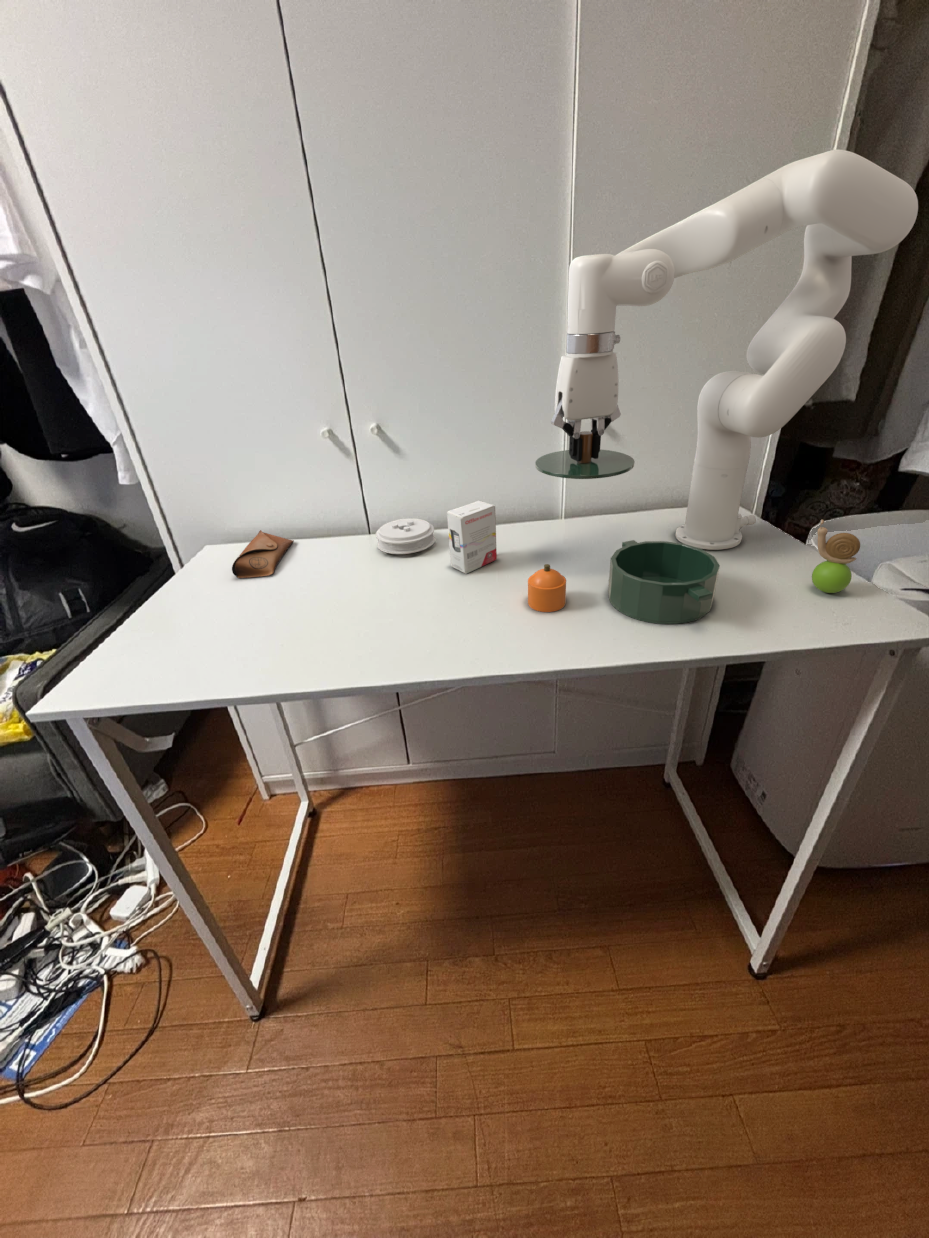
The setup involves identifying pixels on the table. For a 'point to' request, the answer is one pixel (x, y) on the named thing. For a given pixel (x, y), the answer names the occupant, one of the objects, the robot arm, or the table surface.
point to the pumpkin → (546, 590)
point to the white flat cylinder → (405, 536)
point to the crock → (662, 581)
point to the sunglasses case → (261, 556)
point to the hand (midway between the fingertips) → (584, 457)
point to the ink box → (472, 536)
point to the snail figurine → (834, 560)
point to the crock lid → (585, 462)
